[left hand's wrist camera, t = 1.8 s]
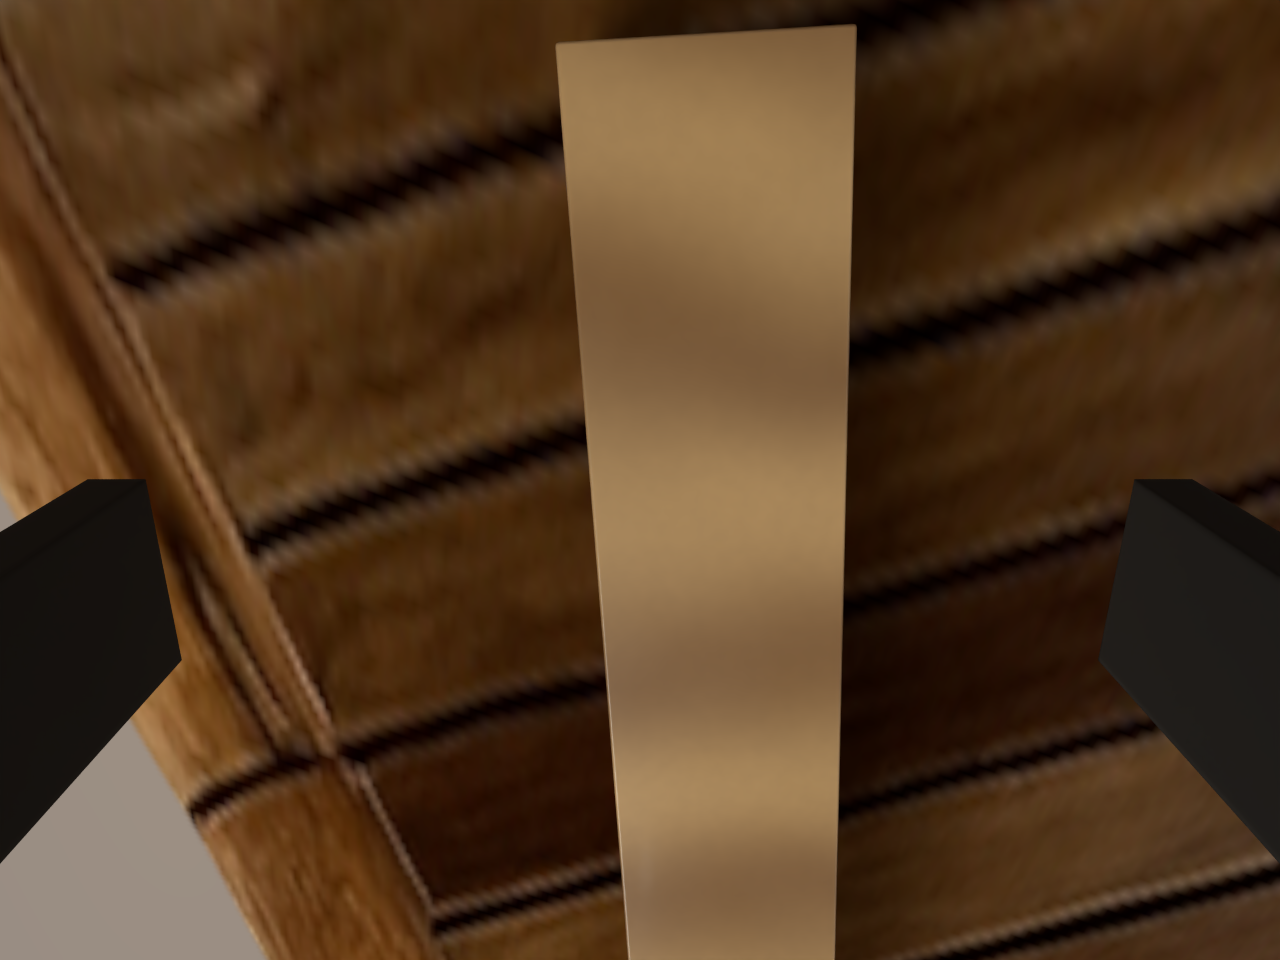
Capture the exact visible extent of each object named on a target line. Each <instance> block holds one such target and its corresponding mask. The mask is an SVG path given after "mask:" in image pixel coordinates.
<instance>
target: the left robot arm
mask: <svg viewBox="0 0 1280 960" xmlns="http://www.w3.org/2000/svg"><path fill="white" fill-rule="evenodd" d="M181 660H182V659H181V654H180V649H179V644H178V639H177V634H176V629H175V624H174V619H173V614H172V609H171V604H170V599H169V594H168V589H167V584H166V579H165V574H164V569H163V564H162V559H161V554H160V549H159V544H158V539H157V534H156V529H155V525H154V520H153V515H152V510H151V505H150V500H149V495H148V490H147V485H146V480H145V479H87V480H86V481H84V482H82V483H81V484H79V485H78V486H76V487H74V488H73V489H71V490H69V491H68V492H66V493H64V494H63V495H61V496H59V497H58V498H56V499H54V500H53V501H51V502H49V503H48V504H46V505H44V506H43V507H41V508H39V509H38V510H36V511H34V512H33V513H31V514H29V515H28V516H26V517H24V518H23V519H21V520H19V521H18V522H16V523H14V524H13V525H11V526H10V527H8V528H6V529H5V530H3V531H1V532H0V863H1V862H2V861H3V860H4V859H5V858H6V856H7V855H8V854H9V853H10V852H11V851H12V850H13V849H14V848H15V846H16V845H17V844H18V843H19V842H20V841H21V840H22V838H23V837H24V836H25V835H26V834H27V833H28V832H29V831H30V830H31V828H32V827H33V826H34V825H35V824H36V823H37V822H38V821H39V819H40V818H41V817H42V816H43V815H44V814H45V813H46V812H47V811H48V809H49V808H50V807H51V806H52V805H53V804H54V803H55V802H56V800H57V799H58V798H59V797H60V796H61V795H62V794H63V793H64V791H65V790H66V789H67V788H68V787H69V786H70V785H71V784H72V783H73V781H74V780H75V779H76V778H77V777H78V776H79V775H80V774H81V772H82V771H83V770H84V769H85V768H86V767H87V766H88V765H89V763H90V762H91V761H92V760H93V759H94V758H95V757H96V756H97V754H98V753H99V752H100V751H101V750H102V749H103V748H104V747H105V746H106V744H107V743H108V742H109V741H110V740H111V739H112V738H113V737H114V735H115V734H116V733H117V732H118V731H119V730H120V729H121V728H122V726H123V725H124V724H125V723H126V722H127V721H128V720H129V719H130V717H131V716H132V715H133V714H134V713H135V712H136V711H137V710H138V709H139V707H140V706H141V705H142V704H143V703H144V702H145V701H146V700H147V698H148V697H149V696H150V695H151V694H152V693H153V692H154V691H155V689H156V688H157V687H158V686H159V685H160V684H161V683H162V682H163V681H164V679H165V678H166V677H167V676H168V675H169V674H170V673H171V672H172V670H173V669H174V668H175V667H176V666H177V665H178V664H179V663H180V661H181ZM1098 660H1099V661H1100V663H1101V664H1102V665H1103V666H1104V667H1105V668H1106V669H1107V670H1108V672H1109V673H1110V674H1111V675H1112V676H1113V677H1114V678H1115V679H1116V681H1117V682H1118V683H1119V684H1120V685H1121V686H1122V687H1123V688H1124V689H1125V691H1126V692H1127V693H1128V694H1129V695H1130V696H1131V697H1132V698H1133V700H1134V701H1135V702H1136V703H1137V704H1138V705H1139V706H1140V707H1141V709H1142V710H1143V711H1144V712H1145V713H1146V714H1147V715H1148V716H1149V717H1150V719H1151V720H1152V721H1153V722H1154V723H1155V724H1156V725H1157V726H1158V728H1159V729H1160V730H1161V731H1162V732H1163V733H1164V734H1165V735H1166V737H1167V738H1168V739H1169V740H1170V741H1171V742H1172V743H1173V744H1174V746H1175V747H1176V748H1177V749H1178V750H1179V751H1180V752H1181V753H1182V754H1183V756H1184V757H1185V758H1186V759H1187V760H1188V761H1189V762H1190V763H1191V765H1192V766H1193V767H1194V768H1195V769H1196V770H1197V771H1198V772H1199V774H1200V775H1201V776H1202V777H1203V778H1204V779H1205V780H1206V781H1207V783H1208V784H1209V785H1210V786H1211V787H1212V788H1213V789H1214V790H1215V791H1216V793H1217V794H1218V795H1219V796H1220V797H1221V798H1222V799H1223V800H1224V802H1225V803H1226V804H1227V805H1228V806H1229V807H1230V808H1231V809H1232V811H1233V812H1234V813H1235V814H1236V815H1237V816H1238V817H1239V818H1240V819H1241V821H1242V822H1243V823H1244V824H1245V825H1246V826H1247V827H1248V828H1249V830H1250V831H1251V832H1252V833H1253V834H1254V835H1255V836H1256V837H1257V839H1258V840H1259V841H1260V842H1261V843H1262V844H1263V845H1264V846H1265V848H1266V849H1267V850H1268V851H1269V852H1270V853H1271V854H1272V855H1273V856H1274V858H1275V859H1276V860H1277V861H1278V862H1279V863H1280V532H1279V531H1277V530H1275V529H1274V528H1272V527H1271V526H1269V525H1267V524H1266V523H1264V522H1262V521H1261V520H1259V519H1257V518H1256V517H1254V516H1252V515H1251V514H1249V513H1247V512H1246V511H1244V510H1242V509H1241V508H1239V507H1237V506H1236V505H1234V504H1232V503H1231V502H1229V501H1227V500H1226V499H1224V498H1222V497H1221V496H1219V495H1217V494H1216V493H1214V492H1212V491H1211V490H1209V489H1207V488H1206V487H1204V486H1202V485H1201V484H1199V483H1198V482H1196V481H1194V480H1193V479H1135V480H1134V485H1133V490H1132V495H1131V500H1130V505H1129V510H1128V515H1127V520H1126V525H1125V529H1124V534H1123V539H1122V544H1121V549H1120V554H1119V559H1118V564H1117V569H1116V574H1115V579H1114V584H1113V589H1112V594H1111V599H1110V604H1109V609H1108V614H1107V619H1106V624H1105V629H1104V634H1103V639H1102V644H1101V649H1100V654H1099V659H1098Z"/></svg>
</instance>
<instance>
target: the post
mask: <svg viewBox="0 0 1280 960" xmlns="http://www.w3.org/2000/svg"><path fill="white" fill-rule="evenodd" d="M856 39H857V27H856V25H855V24H844V25H828V26H812V27H795V28H779V29H763V30H746V31H730V32H714V33H697V34H681V35H665V36H648V37H632V38H616V39H599V40H583V41H567V42H558V43H556V59H557V71H558V84H559V97H560V109H561V122H562V134H563V147H564V159H565V172H566V184H567V197H568V210H569V222H570V235H571V247H572V260H573V272H574V285H575V298H576V310H577V323H578V335H579V348H580V360H581V373H582V385H583V398H584V411H585V423H586V436H587V448H588V461H589V473H590V486H591V499H592V511H593V524H594V536H595V549H596V561H597V574H598V586H599V599H600V612H601V624H602V637H603V649H604V662H605V674H606V687H607V700H608V712H609V725H610V737H611V750H612V762H613V775H614V787H615V800H616V813H617V825H618V838H619V850H620V863H621V875H622V888H623V901H624V913H625V926H626V938H627V951H628V960H835V936H836V893H837V851H838V808H839V765H840V722H841V680H842V637H843V594H844V551H845V509H846V466H847V423H848V380H849V338H850V295H851V252H852V209H853V167H854V124H855V81H856Z"/></svg>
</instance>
